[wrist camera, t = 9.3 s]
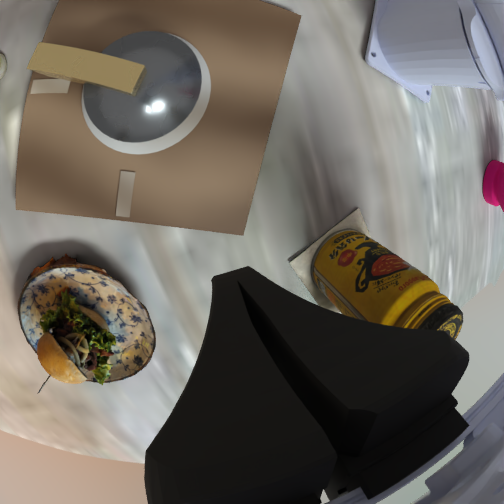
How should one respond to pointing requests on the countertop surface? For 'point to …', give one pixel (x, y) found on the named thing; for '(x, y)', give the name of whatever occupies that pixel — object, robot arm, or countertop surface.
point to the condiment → (372, 281)
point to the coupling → (129, 82)
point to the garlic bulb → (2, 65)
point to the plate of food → (84, 323)
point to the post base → (174, 143)
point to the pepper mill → (494, 184)
